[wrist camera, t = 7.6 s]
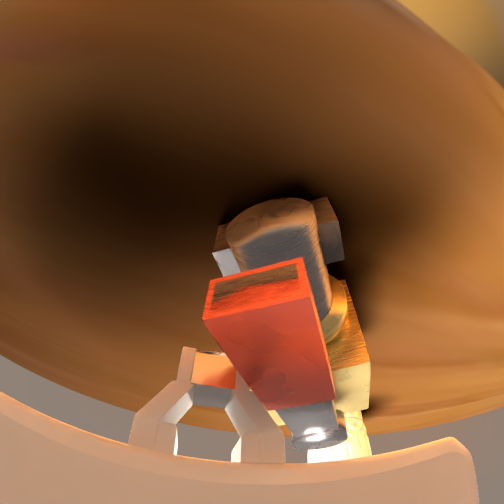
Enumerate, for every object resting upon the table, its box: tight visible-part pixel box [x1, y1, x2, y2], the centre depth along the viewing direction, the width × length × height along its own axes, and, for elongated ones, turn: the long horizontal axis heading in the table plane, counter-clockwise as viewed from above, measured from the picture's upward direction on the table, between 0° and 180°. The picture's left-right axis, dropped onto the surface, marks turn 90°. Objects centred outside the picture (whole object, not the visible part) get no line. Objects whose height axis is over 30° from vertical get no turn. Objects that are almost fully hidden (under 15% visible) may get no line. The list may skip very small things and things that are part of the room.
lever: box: [202, 257, 348, 450], centre depth 11 cm, size 14×3×2 cm, turn 18°
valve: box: [212, 197, 370, 426], centre depth 18 cm, size 20×7×8 cm, turn 18°
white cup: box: [308, 410, 372, 463], centre depth 27 cm, size 8×8×10 cm
